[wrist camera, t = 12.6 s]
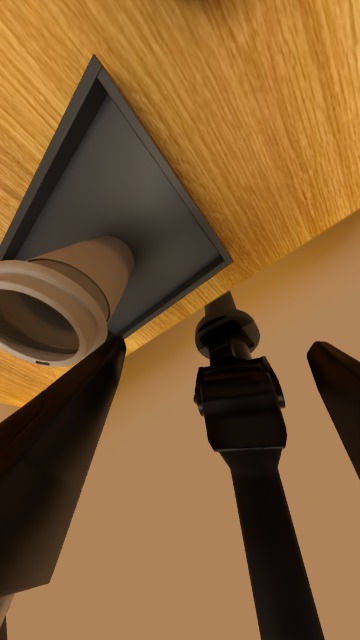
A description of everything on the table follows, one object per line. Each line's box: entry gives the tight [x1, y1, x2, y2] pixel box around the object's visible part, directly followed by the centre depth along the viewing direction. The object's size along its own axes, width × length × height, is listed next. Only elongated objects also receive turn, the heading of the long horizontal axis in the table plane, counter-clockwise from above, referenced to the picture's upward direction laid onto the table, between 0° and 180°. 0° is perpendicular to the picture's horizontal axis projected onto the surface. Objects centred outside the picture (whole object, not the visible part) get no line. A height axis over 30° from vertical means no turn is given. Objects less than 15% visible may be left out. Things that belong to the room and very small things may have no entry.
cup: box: [0, 236, 134, 367], centre depth 14 cm, size 7×7×12 cm
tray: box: [0, 54, 233, 341], centre depth 18 cm, size 15×19×3 cm
